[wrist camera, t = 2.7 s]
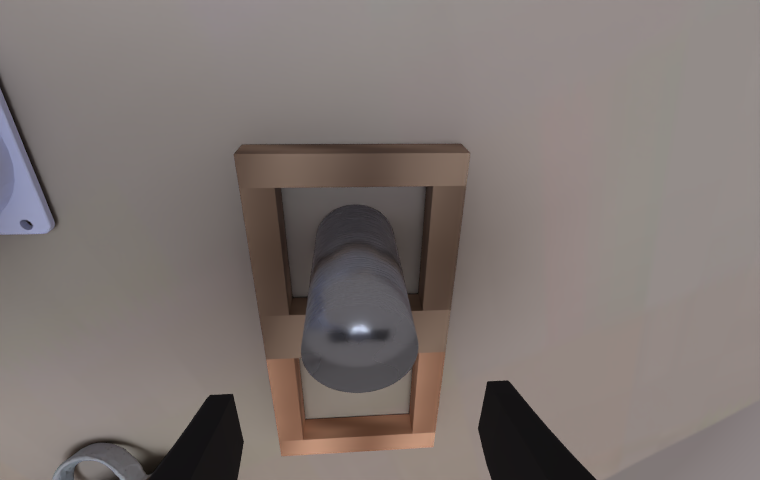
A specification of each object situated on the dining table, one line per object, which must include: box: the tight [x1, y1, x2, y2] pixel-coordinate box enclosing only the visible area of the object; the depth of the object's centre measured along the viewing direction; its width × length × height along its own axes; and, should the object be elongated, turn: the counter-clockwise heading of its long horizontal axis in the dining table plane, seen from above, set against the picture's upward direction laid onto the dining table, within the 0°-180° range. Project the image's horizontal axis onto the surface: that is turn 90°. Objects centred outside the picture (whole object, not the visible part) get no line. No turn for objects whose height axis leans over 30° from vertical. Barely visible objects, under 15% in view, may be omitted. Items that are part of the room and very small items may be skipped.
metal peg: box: [301, 205, 418, 393], centre depth 17 cm, size 4×4×8 cm
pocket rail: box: [234, 144, 470, 456], centre depth 22 cm, size 10×20×2 cm, turn 179°
